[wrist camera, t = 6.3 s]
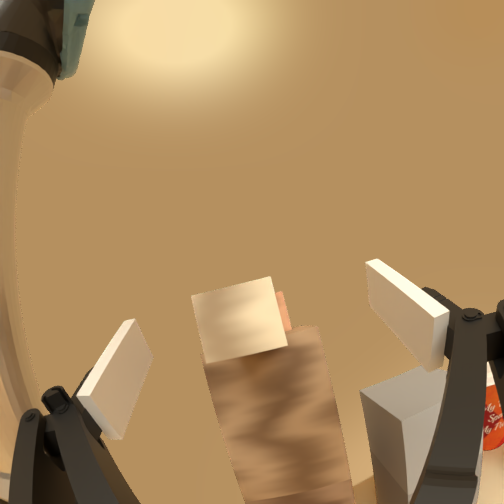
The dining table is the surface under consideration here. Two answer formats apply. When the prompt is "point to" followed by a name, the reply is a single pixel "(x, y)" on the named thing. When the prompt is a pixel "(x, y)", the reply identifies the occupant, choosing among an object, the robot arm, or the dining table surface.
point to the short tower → (404, 431)
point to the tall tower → (282, 423)
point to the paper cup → (492, 416)
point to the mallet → (241, 320)
